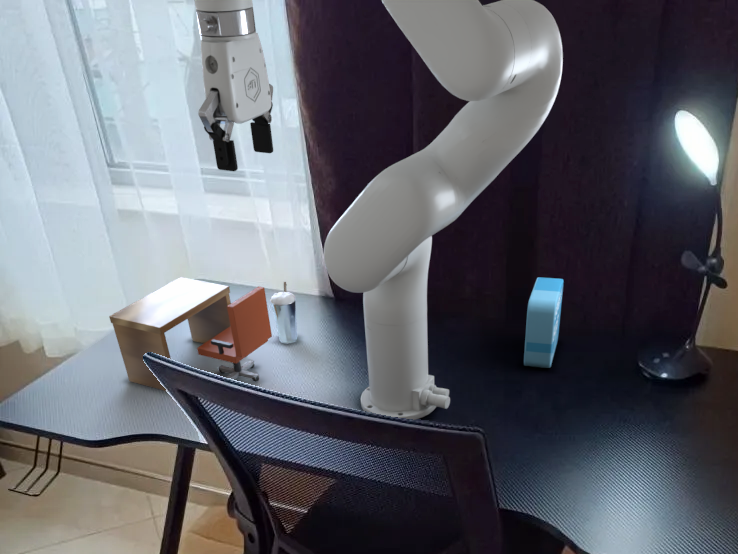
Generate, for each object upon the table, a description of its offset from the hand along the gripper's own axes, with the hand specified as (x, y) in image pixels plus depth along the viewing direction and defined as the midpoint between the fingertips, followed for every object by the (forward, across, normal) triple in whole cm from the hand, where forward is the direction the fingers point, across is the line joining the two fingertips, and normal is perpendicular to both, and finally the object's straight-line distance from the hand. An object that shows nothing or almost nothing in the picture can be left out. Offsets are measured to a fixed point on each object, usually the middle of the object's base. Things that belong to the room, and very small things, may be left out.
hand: (246, 160), depth 116 cm
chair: (+34, -6, +4) cm, 35 cm away
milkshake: (+34, +10, +4) cm, 36 cm away
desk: (+34, -5, +16) cm, 38 cm away
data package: (+34, +20, -42) cm, 58 cm away
